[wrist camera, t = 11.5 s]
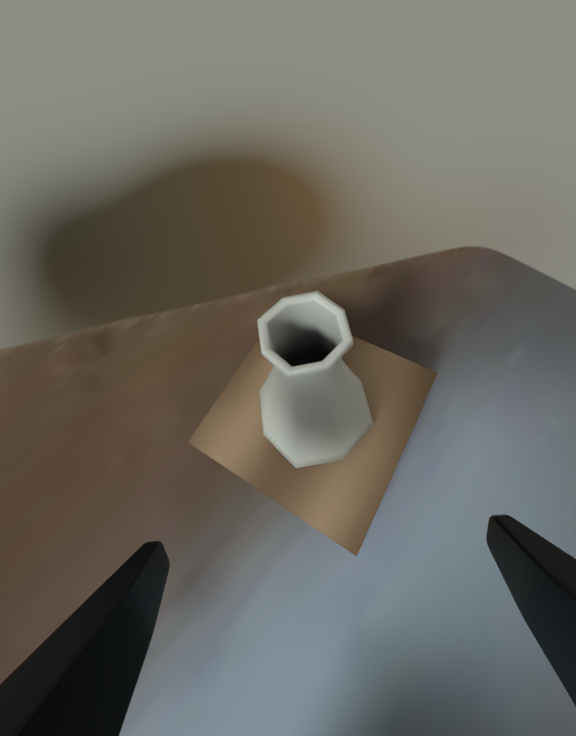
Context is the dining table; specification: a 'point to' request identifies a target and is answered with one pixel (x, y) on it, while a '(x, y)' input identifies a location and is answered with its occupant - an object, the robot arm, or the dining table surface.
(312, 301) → the flask
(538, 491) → the dining table surface
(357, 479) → the light brown square board
